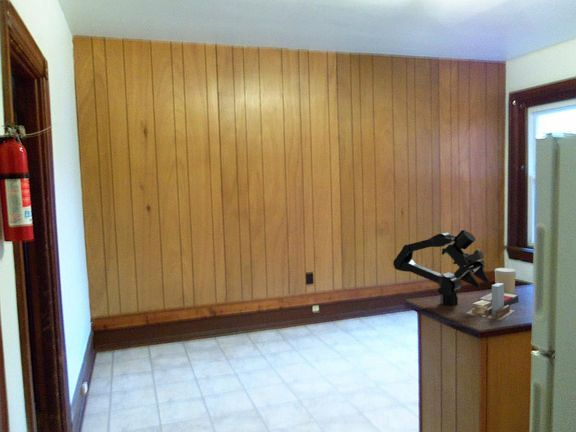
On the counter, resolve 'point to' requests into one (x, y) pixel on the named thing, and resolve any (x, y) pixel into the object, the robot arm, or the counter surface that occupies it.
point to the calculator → (507, 298)
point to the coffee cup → (506, 279)
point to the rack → (499, 314)
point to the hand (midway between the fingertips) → (483, 284)
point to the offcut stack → (481, 306)
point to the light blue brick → (497, 297)
